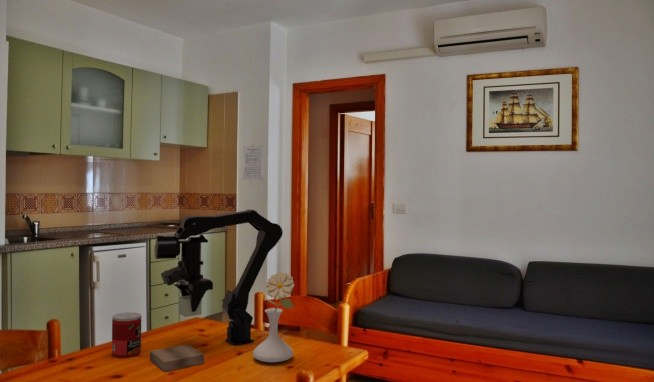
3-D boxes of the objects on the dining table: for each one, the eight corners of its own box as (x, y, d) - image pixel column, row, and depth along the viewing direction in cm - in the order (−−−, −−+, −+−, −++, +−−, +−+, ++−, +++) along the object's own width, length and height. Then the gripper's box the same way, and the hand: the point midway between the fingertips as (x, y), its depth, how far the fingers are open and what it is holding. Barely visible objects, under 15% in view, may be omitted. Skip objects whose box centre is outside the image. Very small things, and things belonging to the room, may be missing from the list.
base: (187, 352, 149) (188, 344, 149) (203, 363, 140) (204, 354, 140) (149, 360, 142) (149, 351, 142) (164, 371, 133) (164, 362, 133)
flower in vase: (244, 360, 143) (245, 270, 143) (272, 350, 152) (273, 266, 152) (278, 370, 136) (279, 276, 135) (306, 359, 145) (307, 271, 144)
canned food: (131, 359, 143) (131, 319, 143) (105, 356, 144) (106, 317, 144) (146, 350, 150) (146, 313, 150) (121, 348, 152) (122, 311, 152)
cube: (194, 311, 157) (194, 294, 157) (201, 314, 153) (201, 297, 153) (178, 313, 154) (179, 296, 154) (185, 316, 150) (185, 299, 150)
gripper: (153, 255, 156) (152, 307, 156) (176, 263, 141) (175, 320, 141) (188, 253, 163) (187, 302, 163) (214, 260, 148) (213, 314, 148)
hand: (190, 309), depth 154 cm, fingers closed on cube, 5 cm apart
